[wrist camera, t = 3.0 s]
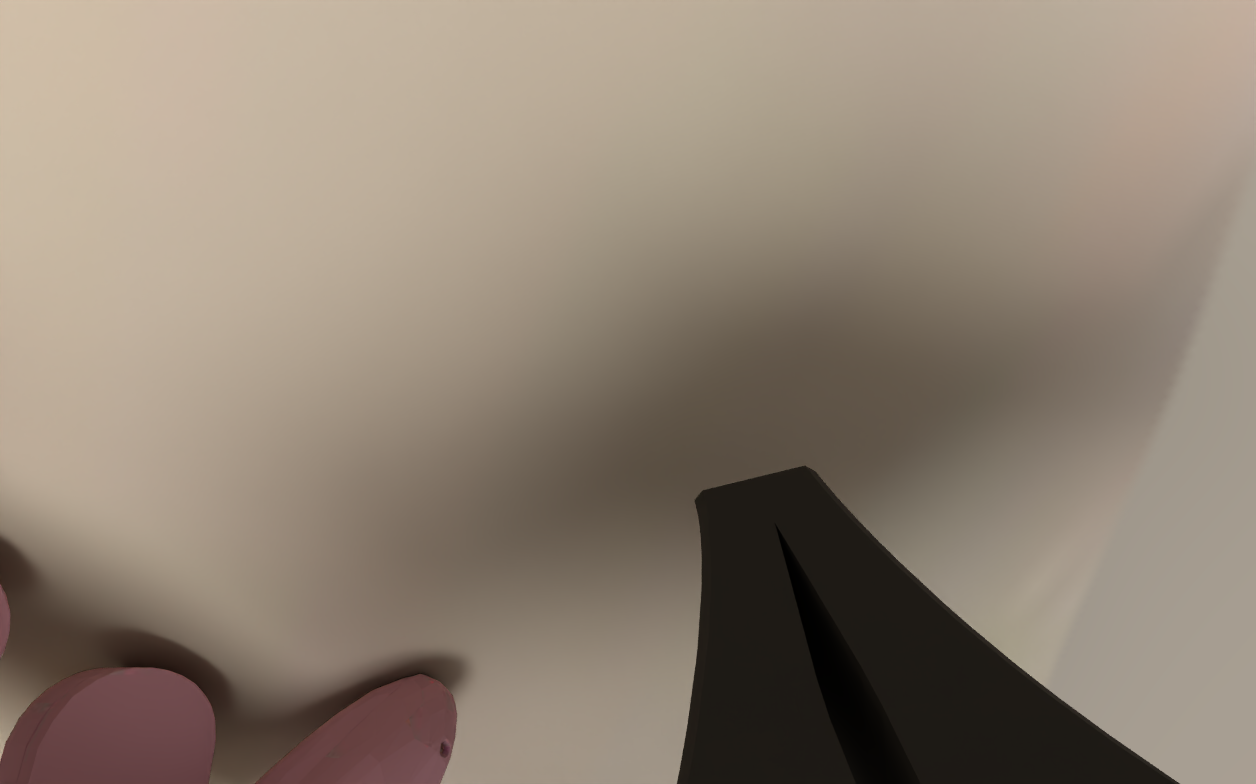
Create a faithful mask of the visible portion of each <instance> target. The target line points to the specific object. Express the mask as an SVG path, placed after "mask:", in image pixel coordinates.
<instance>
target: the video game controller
mask: <svg viewBox="0 0 1256 784" xmlns="http://www.w3.org/2000/svg"><path fill="white" fill-rule="evenodd" d="M9 632H10V608H9V604H8V600H7V596H6V594H5V592H4V590H3V588H2V586H1V584H0V658H1V657H2V655H3V653H4V651H5V648H6V644H7V640H8V636H9ZM456 721H457V712H456V706H455V702H454V698H453V695H452V694H451V693H450V692H449V691H448V689H447V688H446V687H445V686H444V685H443V684H442V683H441V682H440V681H438V680H435V679H432V678H430V677H429V676H426V675H423V674H418V675H415V676H411V677H406V678H402V679H400V680H397V681H395V682H392V683H390V684H387V685H384V686H382V687H379V688H377V689H374V690H372V691H370V692H369V693H367V694H366V695H364V696H363V697H361V698H360V699H358V700H357V701H355V702H354V703H352V704H351V705H349V706H348V707H346V708H345V709H343V710H342V711H340V712H339V713H337V714H336V715H335V716H333V717H332V718H331V719H329V720H328V721H327V722H326V723H324V724H323V725H322V726H320V727H319V728H318V729H317V730H315V731H314V732H313V733H311V734H310V735H309V736H308V737H306V738H305V739H304V740H303V741H302V742H301V743H299V744H298V745H297V746H296V747H295V748H294V749H293V750H291V751H290V752H289V753H288V754H287V755H286V756H285V757H283V758H282V759H281V760H280V761H279V762H278V763H277V764H275V765H274V766H273V767H272V768H271V769H270V770H269V771H267V772H266V773H265V774H264V775H263V776H262V777H261V778H260V779H259V780H258V781H257V782H256V783H255V784H440V783H441V780H442V778H443V775H444V773H445V770H446V768H447V765H448V763H449V760H450V757H451V753H452V748H453V744H454V740H455V732H456ZM215 743H216V731H215V717H214V713H213V709H212V706H211V704H210V702H209V701H208V699H207V697H206V695H205V694H204V693H203V691H202V690H201V689H200V688H199V687H198V686H197V685H196V684H195V683H194V682H192V681H190V680H189V679H187V678H186V677H184V676H183V675H180V674H177V673H174V672H172V671H169V670H164V669H158V668H152V667H147V668H141V667H113V668H96V669H91V670H87V671H82V672H79V673H77V674H74V675H72V676H70V677H67V678H65V679H63V680H61V681H60V682H58V683H56V684H55V685H53V686H52V687H50V688H48V689H47V690H46V691H45V692H43V693H42V694H41V695H40V696H39V697H38V698H37V699H36V700H34V701H33V702H32V703H31V704H30V706H29V707H28V708H27V709H26V711H25V712H24V713H23V714H22V715H21V717H20V718H19V719H18V721H17V723H16V725H15V727H14V729H13V730H12V732H11V734H10V736H9V738H8V739H7V741H6V743H5V747H4V751H3V754H2V758H1V761H0V784H209V778H210V772H211V766H212V760H213V754H214V749H215Z"/></svg>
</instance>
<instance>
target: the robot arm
mask: <svg viewBox="0 0 1256 784" xmlns="http://www.w3.org/2000/svg"><path fill="white" fill-rule="evenodd" d="M695 504H696V508H697V512H698V517H699V524H700V533H701V549H702V591H701V606H700V621H699V637H698V649H697V659H696V667H695V674H694V681H693V689H692V696H691V704H690V711H689V718H688V726H687V732H686V738H685V743H684V749H683V755H682V760H681V766H680V771H679V776H678V781H677V784H1179V783H1178V782H1176V781H1175V780H1174V779H1172V778H1171V777H1169V776H1168V775H1166V774H1165V773H1163V772H1162V771H1160V770H1159V769H1158V768H1156V767H1155V766H1153V765H1152V764H1150V763H1149V762H1147V761H1146V760H1144V759H1143V758H1142V757H1140V756H1139V755H1137V754H1136V753H1135V752H1133V751H1131V750H1130V749H1129V748H1127V747H1126V746H1124V745H1123V744H1122V743H1120V742H1119V741H1117V740H1116V739H1114V738H1113V737H1111V736H1110V735H1109V734H1107V733H1106V732H1104V731H1103V730H1102V729H1100V728H1099V727H1098V726H1096V725H1095V724H1093V723H1092V722H1091V721H1090V720H1088V719H1087V718H1085V717H1084V716H1083V715H1081V714H1080V713H1078V712H1077V711H1076V710H1074V709H1073V708H1072V707H1070V706H1069V705H1068V704H1066V703H1065V702H1064V701H1062V700H1061V699H1059V698H1058V697H1057V696H1056V695H1054V694H1053V693H1052V692H1051V691H1049V690H1048V689H1047V688H1045V687H1044V686H1043V685H1041V684H1040V683H1039V682H1038V681H1036V680H1035V679H1034V678H1032V677H1031V676H1030V675H1029V674H1027V673H1026V672H1025V671H1024V670H1022V669H1021V668H1020V667H1019V666H1017V665H1016V664H1015V663H1014V662H1012V661H1011V660H1010V659H1009V658H1007V657H1006V656H1005V655H1004V654H1003V653H1002V652H1000V651H999V650H998V649H997V648H996V647H994V646H993V645H992V644H991V643H990V642H988V641H987V640H986V639H985V638H984V637H982V636H981V635H980V634H979V633H978V632H976V631H975V630H974V629H973V628H972V627H970V626H969V625H968V624H967V623H966V622H965V621H963V620H962V619H961V618H960V617H959V616H958V615H957V614H955V613H954V612H953V611H952V610H951V609H950V608H949V607H948V606H946V605H945V604H944V603H943V602H942V601H941V600H940V599H939V598H938V597H937V596H935V595H934V594H933V593H932V592H931V591H930V590H929V589H928V588H927V587H926V586H925V585H924V584H923V583H921V582H920V581H919V580H918V579H917V578H916V577H915V576H914V575H913V574H912V573H911V572H910V571H909V570H907V569H906V568H905V567H904V566H903V565H902V564H901V563H900V562H899V561H898V560H897V559H896V558H895V557H894V556H893V555H892V554H891V553H890V552H889V551H888V550H887V549H886V548H885V547H884V546H883V545H882V544H881V543H880V542H879V541H878V540H877V539H876V538H875V537H874V536H873V535H872V534H871V533H870V532H869V531H868V530H867V529H866V528H865V527H864V526H863V525H862V524H861V523H860V522H859V521H858V520H857V519H856V517H855V516H854V515H853V514H852V513H851V512H850V511H849V510H848V509H847V508H846V507H845V506H844V504H843V503H842V502H841V501H840V500H839V499H838V498H837V497H836V496H835V494H834V493H833V492H832V491H831V490H830V489H829V487H828V486H827V485H826V484H825V483H824V482H823V480H822V479H821V478H820V477H819V475H818V474H817V473H816V472H815V471H814V470H812V469H810V468H808V467H807V466H802V467H798V468H794V469H790V470H785V471H781V472H777V473H773V474H769V475H765V476H761V477H757V478H752V479H748V480H744V481H740V482H736V483H732V484H728V485H724V486H719V487H715V488H711V489H707V490H703V491H702V492H701V493H700V494H699V496H698V497H697V498H696V499H695Z"/></svg>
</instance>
